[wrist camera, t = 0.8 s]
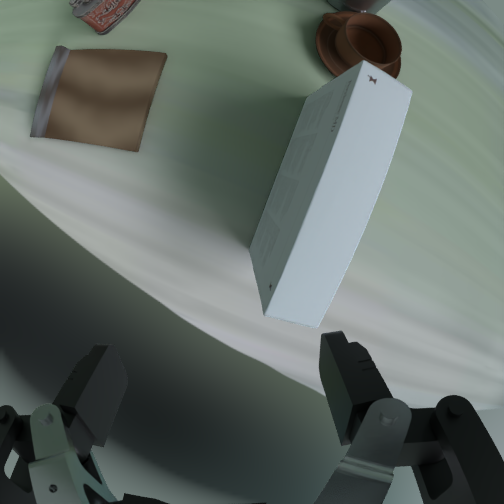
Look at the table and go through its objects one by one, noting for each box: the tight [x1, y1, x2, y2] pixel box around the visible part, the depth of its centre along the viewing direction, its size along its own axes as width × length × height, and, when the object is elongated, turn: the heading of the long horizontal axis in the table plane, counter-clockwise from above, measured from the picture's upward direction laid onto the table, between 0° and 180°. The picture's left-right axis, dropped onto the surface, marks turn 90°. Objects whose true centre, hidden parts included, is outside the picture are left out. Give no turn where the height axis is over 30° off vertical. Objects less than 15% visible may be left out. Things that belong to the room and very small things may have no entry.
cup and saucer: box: [316, 11, 402, 79], centre depth 26 cm, size 12×12×6 cm
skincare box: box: [249, 60, 413, 328], centre depth 26 cm, size 21×5×16 cm, turn 160°
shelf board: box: [30, 46, 167, 152], centre depth 27 cm, size 13×17×4 cm
